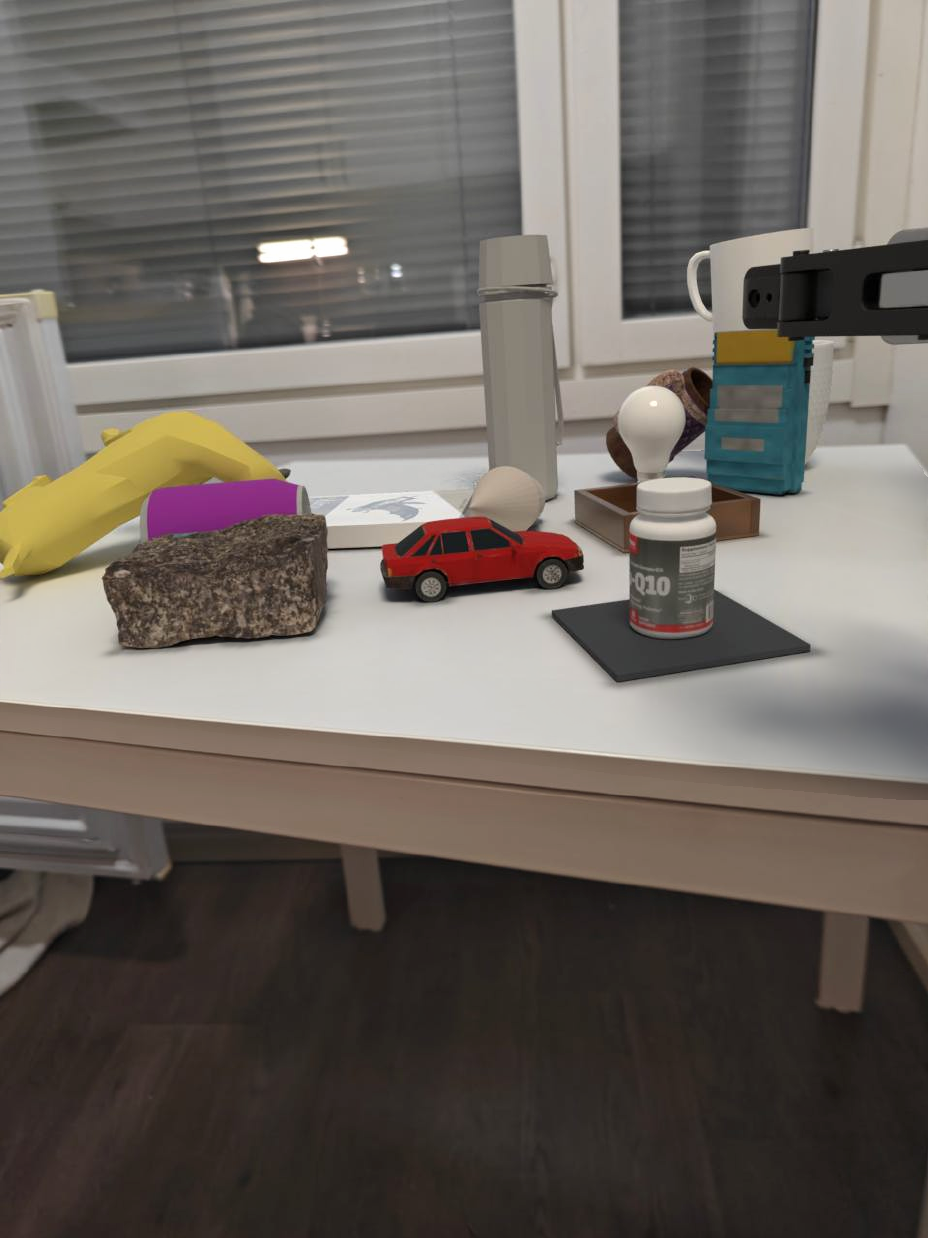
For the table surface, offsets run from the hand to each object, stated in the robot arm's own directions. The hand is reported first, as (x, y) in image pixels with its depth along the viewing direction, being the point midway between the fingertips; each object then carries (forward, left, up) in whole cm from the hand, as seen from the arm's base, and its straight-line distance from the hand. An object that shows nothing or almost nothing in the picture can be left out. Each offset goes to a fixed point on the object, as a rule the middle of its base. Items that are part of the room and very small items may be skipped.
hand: (836, 291), depth 34 cm
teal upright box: (-22, -44, -18) cm, 52 cm away
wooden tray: (-8, -34, -18) cm, 39 cm away
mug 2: (-27, -54, -5) cm, 61 cm away
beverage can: (+34, -36, -14) cm, 51 cm away
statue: (+42, -53, -16) cm, 69 cm away
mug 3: (-31, -54, -18) cm, 65 cm away
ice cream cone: (+5, -37, -18) cm, 41 cm away
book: (+17, -47, -18) cm, 53 cm away
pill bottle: (+2, -11, -18) cm, 21 cm away
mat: (+2, -11, -18) cm, 21 cm away
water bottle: (-2, -53, -18) cm, 56 cm away
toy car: (+10, -25, -18) cm, 32 cm away
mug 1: (-13, -56, -15) cm, 60 cm away
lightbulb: (-12, -44, -18) cm, 49 cm away
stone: (+29, -24, -10) cm, 39 cm away
